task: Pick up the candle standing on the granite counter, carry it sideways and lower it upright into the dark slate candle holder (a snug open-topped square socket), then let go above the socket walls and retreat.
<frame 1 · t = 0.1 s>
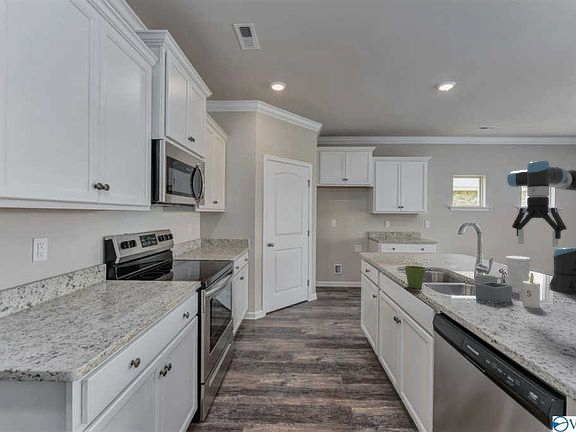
hand: (537, 245, 140), 28 cm above the worktop, fingers open, 13 cm apart
plant pot: (415, 287, 181), on the worktop
teacup: (489, 291, 172), on the worktop
candle: (530, 306, 144), on the worktop
decorative container: (517, 291, 172), on the worktop
slate holder: (493, 300, 154), on the worktop
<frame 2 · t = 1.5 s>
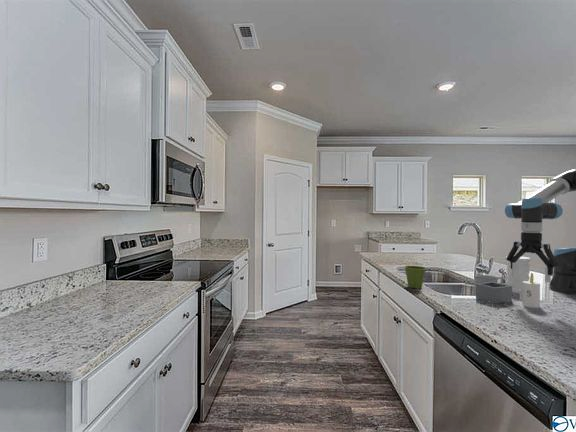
hand: (530, 279, 144), 12 cm above the worktop, fingers open, 13 cm apart
nothing on the worktop moved.
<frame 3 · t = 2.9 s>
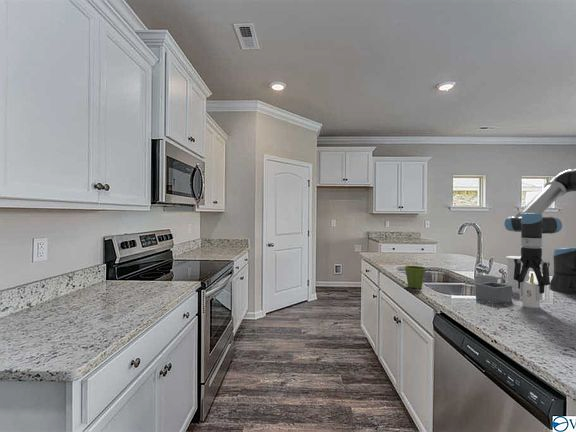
hand: (530, 298, 144), 3 cm above the worktop, fingers closed on candle, 6 cm apart
candle: (530, 306, 144), on the worktop, touching gripper
everything else where it was.
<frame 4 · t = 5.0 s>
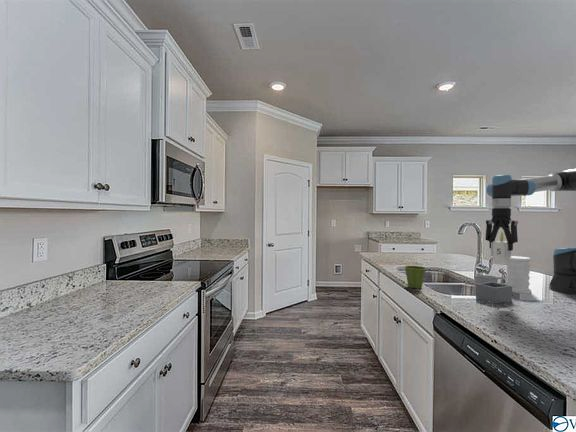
hand: (500, 256, 152), 21 cm above the worktop, fingers closed on candle, 6 cm apart
candle: (500, 264, 152), point 18 cm above the worktop, touching gripper
everything else where it was.
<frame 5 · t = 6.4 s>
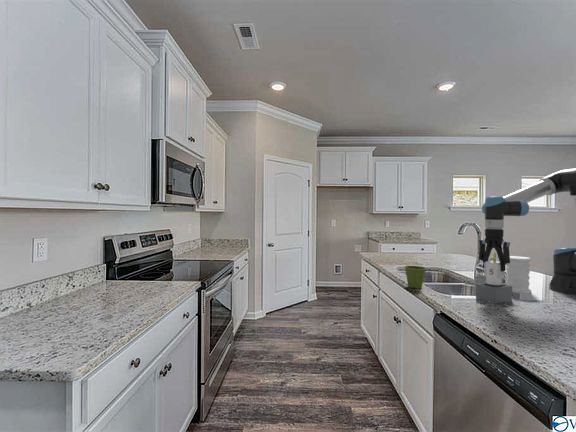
hand: (493, 276, 154), 11 cm above the worktop, fingers closed on candle, 6 cm apart
candle: (493, 284, 154), point 8 cm above the worktop, touching gripper
everything else where it was.
when the fingers open (9 cm above the worktop, at t = 7.1 s): candle drops 5 cm, resting on slate holder.
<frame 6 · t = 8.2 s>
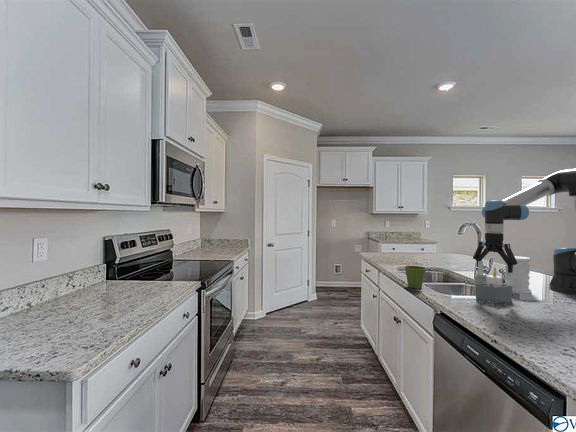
hand: (493, 276, 154), 11 cm above the worktop, fingers open, 13 cm apart
candle: (493, 298, 154), point 1 cm above the worktop, touching slate holder
everything else where it was.
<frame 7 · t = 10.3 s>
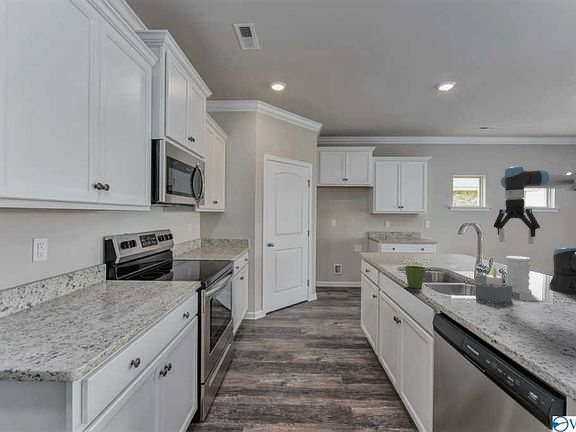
hand: (515, 242, 156), 27 cm above the worktop, fingers open, 13 cm apart
nothing on the worktop moved.
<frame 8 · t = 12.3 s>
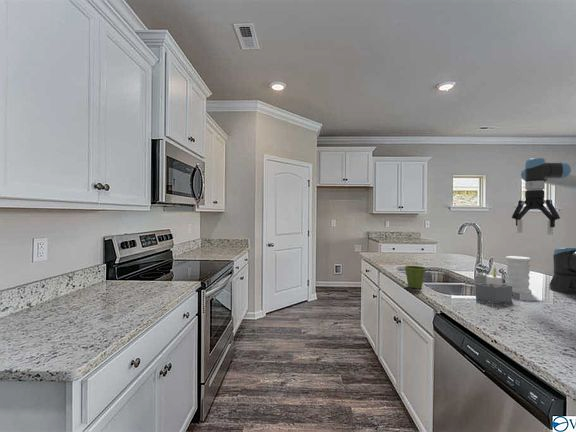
hand: (534, 233, 157), 32 cm above the worktop, fingers open, 13 cm apart
nothing on the worktop moved.
at the end: candle 0.1 cm off-centre on the slate holder, point 0.6 cm above the slate holder's base; candle tilted 0°; the gripper is holding nothing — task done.
